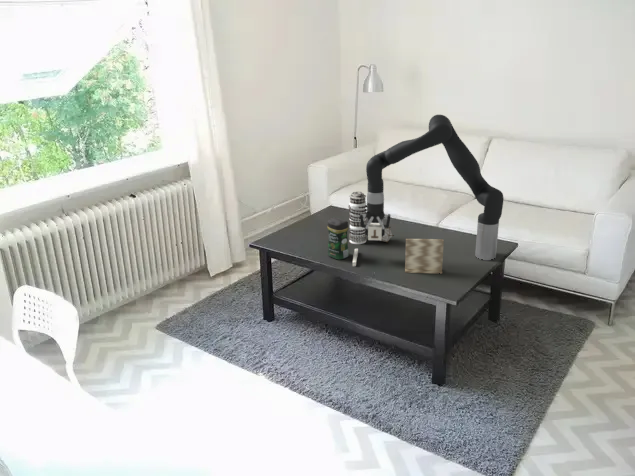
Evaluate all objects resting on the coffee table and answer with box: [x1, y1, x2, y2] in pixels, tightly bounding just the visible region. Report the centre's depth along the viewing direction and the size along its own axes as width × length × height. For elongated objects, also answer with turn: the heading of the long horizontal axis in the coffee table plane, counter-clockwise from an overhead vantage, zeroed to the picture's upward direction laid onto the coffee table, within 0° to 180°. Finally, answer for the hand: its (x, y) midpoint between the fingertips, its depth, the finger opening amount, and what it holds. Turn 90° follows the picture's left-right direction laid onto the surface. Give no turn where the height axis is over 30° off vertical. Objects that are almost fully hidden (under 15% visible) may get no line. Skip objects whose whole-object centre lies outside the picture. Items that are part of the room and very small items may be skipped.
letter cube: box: [367, 222, 382, 241], centre depth 273 cm, size 6×6×6 cm
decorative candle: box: [348, 191, 367, 245], centre depth 295 cm, size 9×9×25 cm
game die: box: [377, 226, 395, 244], centre depth 297 cm, size 9×8×10 cm
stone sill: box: [352, 248, 359, 267], centre depth 279 cm, size 16×2×2 cm, turn 173°
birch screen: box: [404, 238, 445, 275], centre depth 262 cm, size 16×4×15 cm, turn 83°
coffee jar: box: [327, 216, 350, 260], centre depth 279 cm, size 10×8×19 cm
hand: (375, 235), depth 273 cm, fingers closed on letter cube, 6 cm apart
